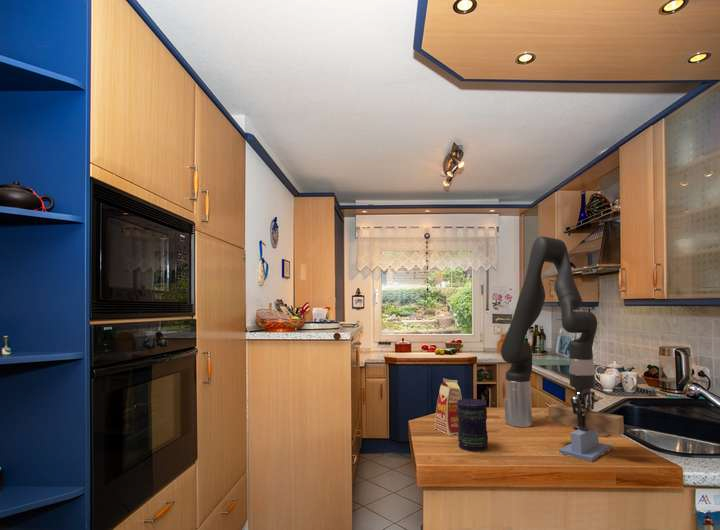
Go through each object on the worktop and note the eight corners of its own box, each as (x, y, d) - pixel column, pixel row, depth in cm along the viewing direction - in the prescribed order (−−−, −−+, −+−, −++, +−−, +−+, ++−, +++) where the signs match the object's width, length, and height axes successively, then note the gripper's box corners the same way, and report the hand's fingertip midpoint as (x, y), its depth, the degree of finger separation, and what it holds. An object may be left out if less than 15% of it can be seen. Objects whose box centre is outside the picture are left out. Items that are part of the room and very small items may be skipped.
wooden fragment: (615, 439, 157) (615, 436, 157) (581, 438, 159) (581, 435, 159) (592, 419, 182) (591, 416, 182) (563, 418, 184) (563, 416, 184)
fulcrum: (559, 453, 143) (558, 431, 144) (579, 441, 154) (578, 421, 154) (592, 461, 136) (590, 438, 136) (611, 449, 147) (610, 427, 147)
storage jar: (487, 453, 145) (485, 406, 146) (456, 450, 148) (454, 404, 149) (489, 443, 154) (487, 399, 155) (460, 440, 157) (459, 397, 158)
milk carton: (448, 436, 163) (447, 380, 164) (433, 429, 171) (432, 376, 172) (468, 432, 167) (466, 378, 168) (452, 426, 175) (450, 374, 176)
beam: (548, 421, 152) (548, 406, 153) (554, 418, 155) (553, 404, 155) (619, 435, 136) (618, 418, 136) (624, 432, 139) (623, 416, 139)
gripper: (578, 368, 154) (581, 419, 153) (560, 373, 145) (563, 427, 144) (602, 370, 149) (604, 423, 148) (584, 376, 139) (587, 432, 138)
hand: (584, 425), depth 146 cm, fingers closed on beam, 4 cm apart
